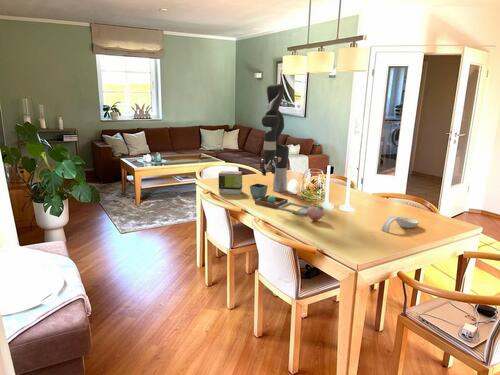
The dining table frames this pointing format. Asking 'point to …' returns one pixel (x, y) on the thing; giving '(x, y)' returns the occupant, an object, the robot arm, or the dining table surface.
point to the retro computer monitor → (230, 182)
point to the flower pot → (258, 190)
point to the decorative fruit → (315, 212)
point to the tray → (300, 212)
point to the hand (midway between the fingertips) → (268, 174)
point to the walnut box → (276, 204)
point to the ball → (271, 199)
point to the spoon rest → (401, 221)
